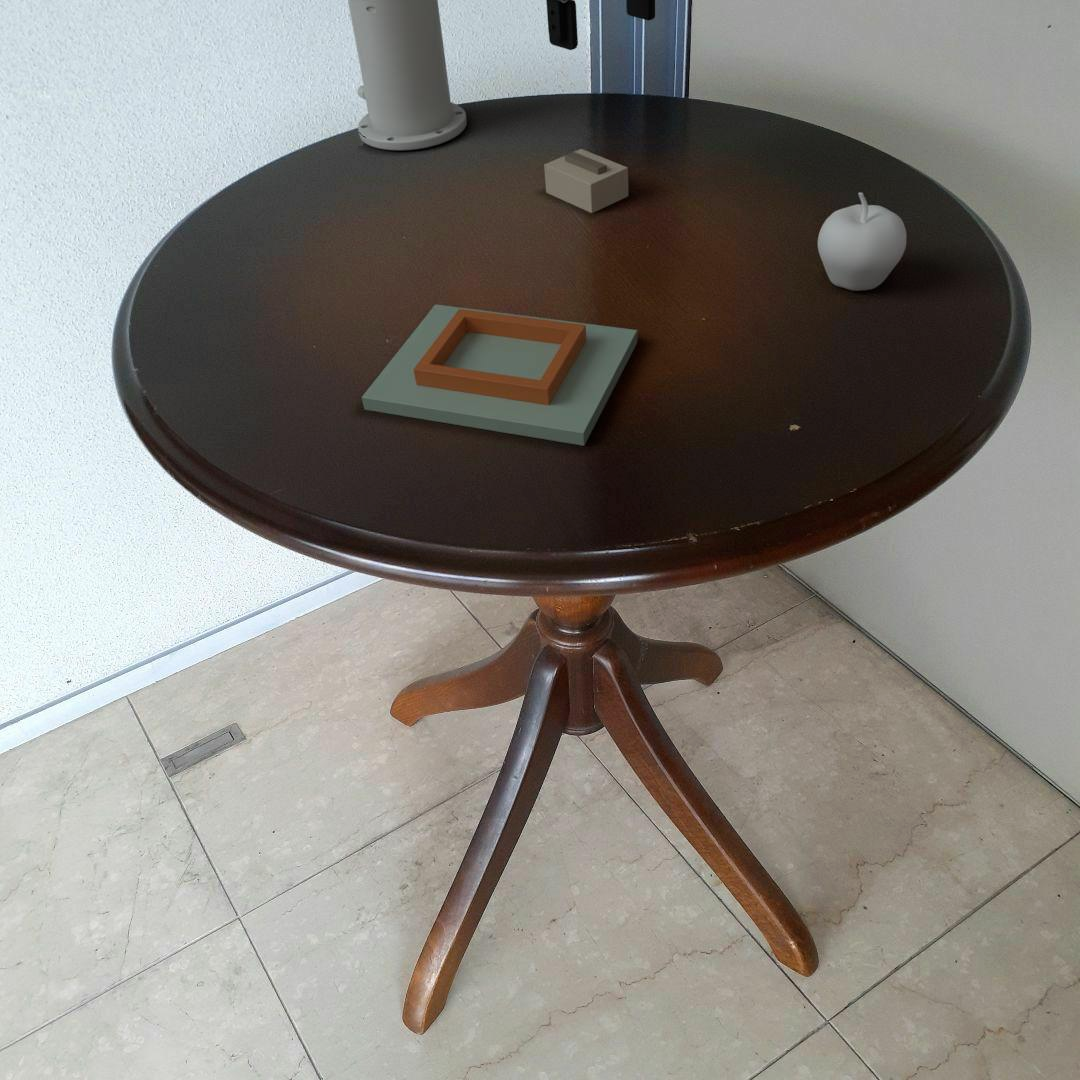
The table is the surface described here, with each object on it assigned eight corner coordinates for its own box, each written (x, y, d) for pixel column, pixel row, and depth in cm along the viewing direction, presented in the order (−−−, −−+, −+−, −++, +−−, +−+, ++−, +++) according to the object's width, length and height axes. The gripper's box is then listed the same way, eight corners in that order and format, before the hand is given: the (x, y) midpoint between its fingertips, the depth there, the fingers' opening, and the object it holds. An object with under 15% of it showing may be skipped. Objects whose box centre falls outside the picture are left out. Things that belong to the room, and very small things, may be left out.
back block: (545, 192, 105) (543, 158, 103) (582, 176, 107) (580, 142, 105) (591, 213, 101) (590, 178, 98) (628, 196, 103) (628, 161, 101)
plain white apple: (804, 264, 91) (814, 177, 85) (885, 257, 91) (900, 169, 85) (823, 305, 86) (835, 215, 80) (909, 298, 86) (926, 207, 80)
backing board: (364, 409, 80) (357, 381, 78) (437, 316, 89) (432, 288, 87) (584, 446, 74) (582, 416, 73) (637, 342, 84) (637, 313, 82)
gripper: (639, -216, 89) (641, 0, 100) (482, -179, 81) (504, 50, 93) (703, -211, 84) (698, 13, 96) (544, -172, 77) (559, 67, 88)
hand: (603, 31), depth 94 cm, fingers open, 9 cm apart
